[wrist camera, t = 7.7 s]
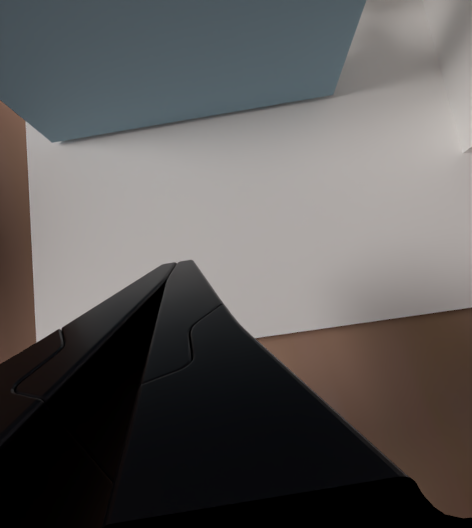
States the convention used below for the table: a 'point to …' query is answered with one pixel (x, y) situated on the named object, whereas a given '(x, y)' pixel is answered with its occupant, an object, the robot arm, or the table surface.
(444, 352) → the table surface
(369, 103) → the cabinet base
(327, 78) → the door panel
